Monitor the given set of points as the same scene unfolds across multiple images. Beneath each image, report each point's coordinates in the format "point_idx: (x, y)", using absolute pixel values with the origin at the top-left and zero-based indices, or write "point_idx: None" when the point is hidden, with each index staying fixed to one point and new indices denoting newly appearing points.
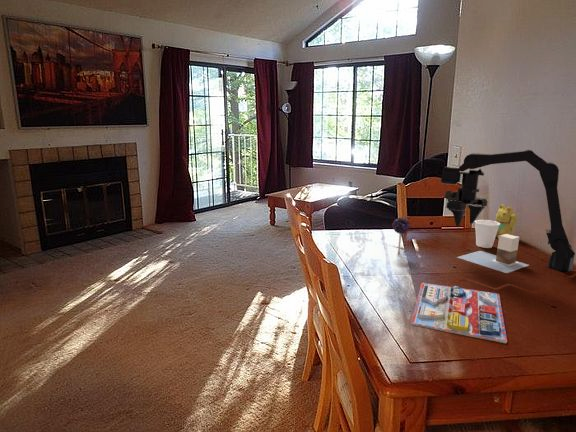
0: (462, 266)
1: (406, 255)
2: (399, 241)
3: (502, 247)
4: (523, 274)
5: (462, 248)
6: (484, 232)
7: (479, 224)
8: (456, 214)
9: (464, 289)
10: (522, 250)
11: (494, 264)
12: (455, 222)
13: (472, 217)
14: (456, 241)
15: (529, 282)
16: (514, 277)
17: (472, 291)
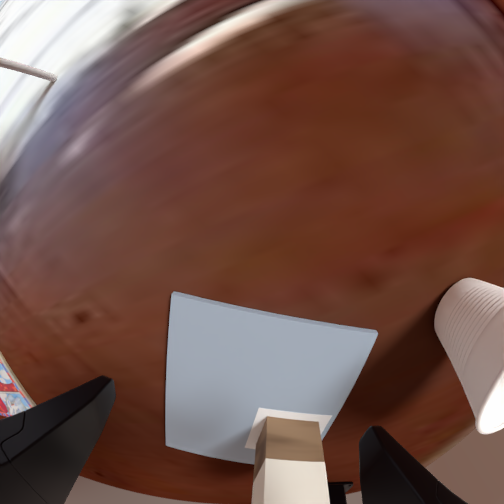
0: (110, 339)
1: (55, 109)
2: (13, 69)
3: (259, 475)
4: (213, 464)
5: (383, 244)
6: (465, 371)
7: (500, 369)
8: (7, 460)
9: (6, 371)
10: (467, 399)
11: (215, 420)
12: (72, 391)
13: (380, 488)
14: (473, 173)
15: (167, 469)
16: (168, 453)
17: (12, 384)
